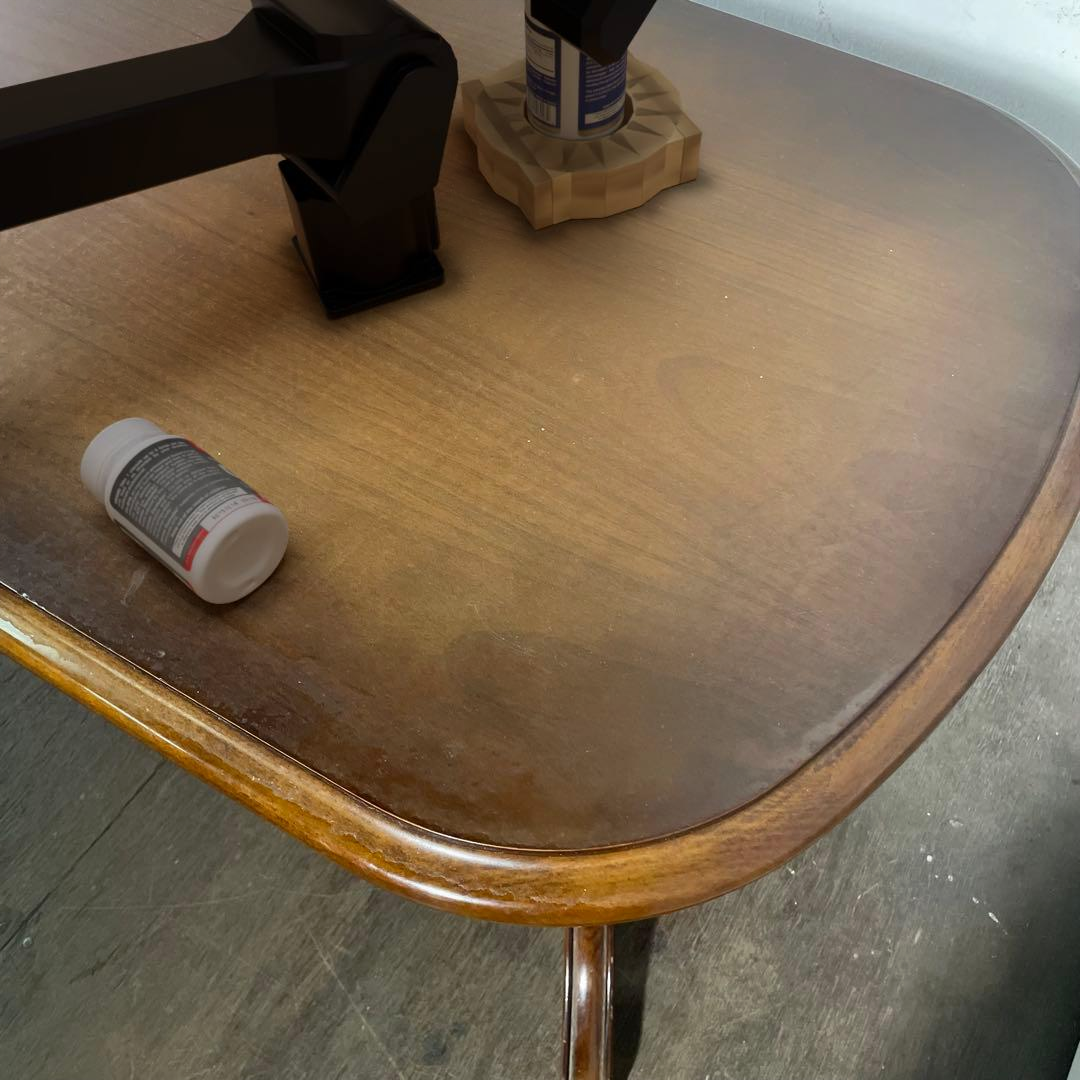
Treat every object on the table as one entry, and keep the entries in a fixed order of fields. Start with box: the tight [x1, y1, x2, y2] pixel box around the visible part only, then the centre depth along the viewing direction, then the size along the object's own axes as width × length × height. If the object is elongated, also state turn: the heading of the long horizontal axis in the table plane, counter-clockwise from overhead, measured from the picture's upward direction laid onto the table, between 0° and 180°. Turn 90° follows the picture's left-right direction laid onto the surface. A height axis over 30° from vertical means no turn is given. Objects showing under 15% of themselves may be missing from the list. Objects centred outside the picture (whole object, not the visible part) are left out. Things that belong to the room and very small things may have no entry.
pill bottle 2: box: [523, 0, 629, 141], centre depth 55 cm, size 5×5×10 cm
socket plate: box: [460, 50, 703, 231], centre depth 60 cm, size 11×11×3 cm
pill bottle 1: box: [79, 417, 290, 605], centre depth 44 cm, size 5×5×8 cm
